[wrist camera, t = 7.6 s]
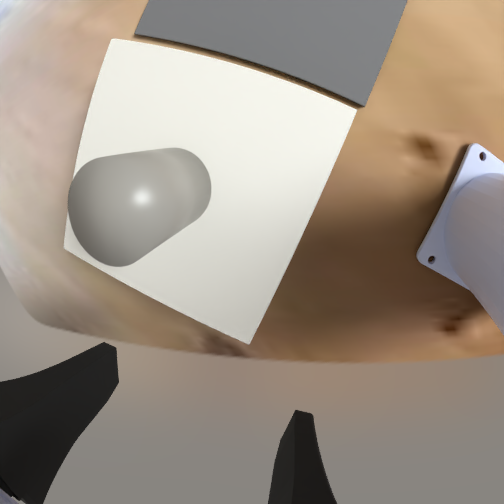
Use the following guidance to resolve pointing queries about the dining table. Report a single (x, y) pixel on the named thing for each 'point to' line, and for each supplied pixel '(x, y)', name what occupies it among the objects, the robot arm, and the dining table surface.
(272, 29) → the mat
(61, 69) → the dining table surface
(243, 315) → the lid
